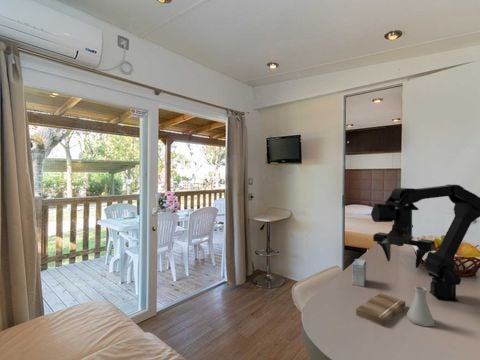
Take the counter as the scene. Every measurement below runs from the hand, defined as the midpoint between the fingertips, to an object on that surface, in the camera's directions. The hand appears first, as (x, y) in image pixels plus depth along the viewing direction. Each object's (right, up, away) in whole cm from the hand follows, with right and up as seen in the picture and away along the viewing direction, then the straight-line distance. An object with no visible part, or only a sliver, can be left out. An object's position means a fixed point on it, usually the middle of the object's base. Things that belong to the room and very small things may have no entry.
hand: (402, 264), depth 94 cm
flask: (-4, -12, -16) cm, 20 cm away
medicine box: (-10, -12, +13) cm, 20 cm away
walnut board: (-13, -12, -10) cm, 20 cm away
